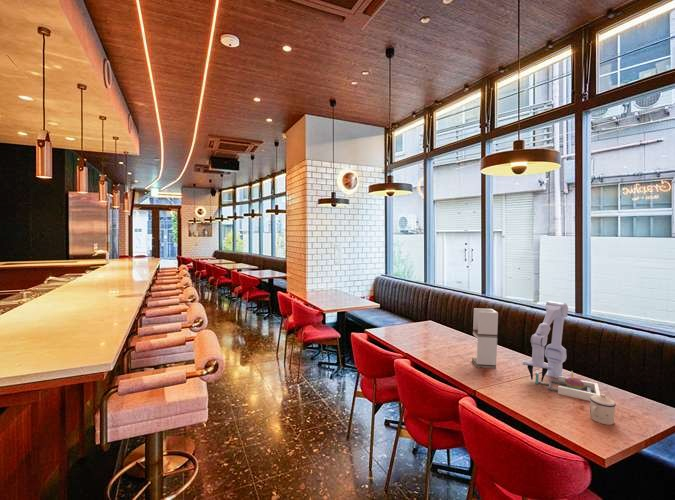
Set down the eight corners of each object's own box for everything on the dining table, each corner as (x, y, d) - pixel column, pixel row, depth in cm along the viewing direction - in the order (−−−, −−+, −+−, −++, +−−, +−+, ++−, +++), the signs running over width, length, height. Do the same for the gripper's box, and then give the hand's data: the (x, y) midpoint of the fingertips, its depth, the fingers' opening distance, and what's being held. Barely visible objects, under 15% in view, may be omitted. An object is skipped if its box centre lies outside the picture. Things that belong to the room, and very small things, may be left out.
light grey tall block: (490, 362, 221) (492, 308, 220) (496, 368, 211) (498, 312, 209) (472, 361, 222) (473, 308, 221) (477, 367, 212) (479, 311, 210)
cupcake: (574, 396, 175) (576, 373, 175) (560, 388, 183) (561, 367, 183) (587, 394, 177) (588, 371, 177) (572, 387, 186) (573, 365, 185)
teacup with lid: (597, 412, 159) (598, 388, 158) (619, 423, 150) (620, 397, 150) (580, 417, 154) (581, 392, 153) (602, 428, 146) (604, 402, 145)
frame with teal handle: (536, 378, 196) (536, 368, 195) (589, 390, 182) (590, 379, 181) (534, 386, 185) (535, 375, 184) (591, 399, 171) (592, 388, 171)
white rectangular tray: (558, 382, 191) (558, 375, 191) (597, 390, 182) (597, 383, 181) (557, 394, 177) (558, 386, 177) (600, 403, 168) (600, 395, 167)
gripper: (522, 355, 190) (521, 379, 190) (553, 361, 182) (552, 385, 182) (523, 351, 196) (522, 375, 196) (553, 357, 188) (552, 381, 188)
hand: (536, 380), depth 190 cm, fingers open, 4 cm apart
